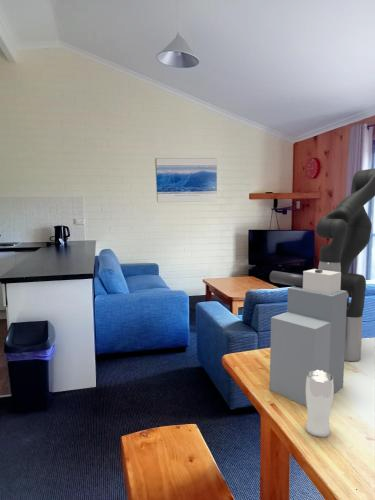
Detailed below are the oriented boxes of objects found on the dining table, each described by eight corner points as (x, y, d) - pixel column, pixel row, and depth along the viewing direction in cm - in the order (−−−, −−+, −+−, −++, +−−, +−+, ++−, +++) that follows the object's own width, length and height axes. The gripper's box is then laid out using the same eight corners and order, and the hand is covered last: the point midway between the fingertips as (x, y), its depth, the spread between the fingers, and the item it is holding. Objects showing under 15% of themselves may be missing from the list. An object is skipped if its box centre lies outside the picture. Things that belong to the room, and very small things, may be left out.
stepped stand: (301, 371, 126) (304, 283, 123) (343, 387, 115) (347, 291, 111) (269, 389, 114) (271, 292, 110) (312, 409, 102) (316, 301, 99)
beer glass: (334, 440, 89) (336, 383, 87) (305, 436, 90) (307, 380, 88) (329, 423, 95) (331, 370, 94) (302, 420, 97) (304, 368, 95)
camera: (278, 280, 129) (278, 262, 128) (340, 291, 111) (341, 269, 111) (266, 283, 124) (267, 264, 123) (329, 294, 107) (330, 272, 106)
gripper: (353, 275, 125) (350, 320, 127) (314, 271, 135) (312, 312, 136) (345, 277, 120) (342, 324, 121) (305, 272, 130) (303, 316, 131)
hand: (326, 318), depth 129 cm, fingers open, 8 cm apart
